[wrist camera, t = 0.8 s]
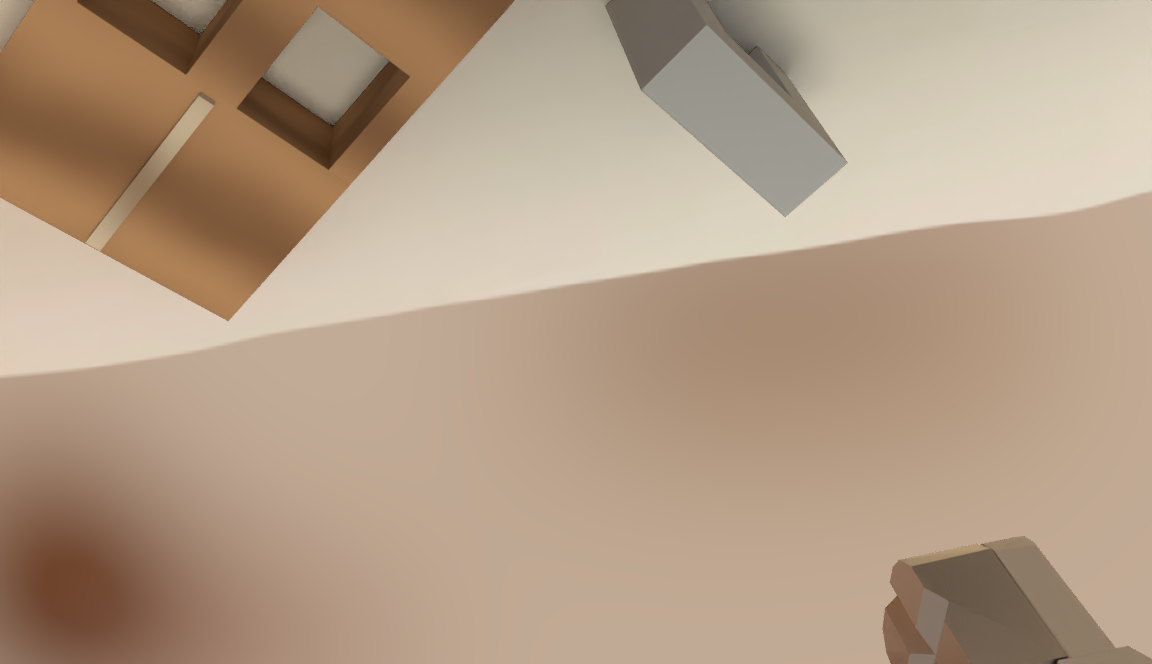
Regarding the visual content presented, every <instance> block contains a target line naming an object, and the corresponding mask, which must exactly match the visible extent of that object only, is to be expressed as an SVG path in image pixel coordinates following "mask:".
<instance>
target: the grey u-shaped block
mask: <svg viewBox="0 0 1152 664" xmlns="http://www.w3.org/2000/svg"><path fill="white" fill-rule="evenodd" d="M606 9H607V11H608V14H609V16H610V18H611V21H612V23H613V25H614V28H615V30H616V32H617V35H618V37H619V39H620V42H621V44H622V46H623V49H624V51H625V54H626V56H627V58H628V61H629V63H630V65H631V68H632V70H633V72H634V75H635V77H636V79H637V82H638V84H639V86H640V89H641V90H642V91H643V92H644V93H645V94H646V95H647V96H648V97H649V98H651V99H652V100H653V101H654V102H655V103H656V104H657V105H659V106H660V107H661V108H662V109H663V110H664V111H665V112H666V113H668V114H669V115H670V116H671V117H672V118H673V119H674V120H676V121H677V122H678V123H679V124H680V125H681V126H682V127H683V128H685V129H686V130H687V131H688V132H689V133H690V134H691V135H693V136H694V137H695V138H696V139H697V140H698V141H699V142H700V143H702V144H703V145H704V146H705V147H706V148H707V149H708V150H710V151H711V152H712V153H713V154H714V155H715V156H716V157H717V158H719V159H720V160H721V161H722V162H723V163H724V164H725V165H727V166H728V167H729V168H730V169H731V170H732V171H733V172H734V173H736V174H737V175H738V176H739V177H740V178H741V179H742V180H744V181H745V182H746V183H747V184H748V185H749V186H750V187H751V188H753V189H754V190H755V191H756V192H757V193H758V194H759V195H761V196H762V197H763V198H764V199H765V200H766V201H767V202H768V203H770V204H771V205H772V206H773V207H774V208H775V209H776V210H778V211H779V212H780V213H781V214H782V215H783V216H784V217H786V216H787V215H788V214H789V213H790V212H792V211H793V210H794V209H795V208H796V207H797V206H798V205H800V204H801V203H802V202H803V201H804V200H805V199H807V198H808V197H809V196H810V195H811V194H812V193H814V192H815V191H816V190H817V189H818V188H819V187H820V186H822V185H823V184H824V183H825V182H826V181H827V180H829V179H830V178H831V177H832V176H833V175H834V174H835V173H837V172H838V171H839V170H840V169H841V168H842V167H844V166H845V165H846V164H847V161H846V160H845V158H844V157H843V156H842V154H841V153H840V151H839V150H838V148H837V147H836V145H835V144H834V143H833V141H832V140H831V138H830V137H829V135H828V134H827V133H826V131H825V130H824V128H823V127H822V125H821V124H820V123H819V121H818V120H817V118H816V117H815V115H814V114H813V112H812V111H811V110H810V108H809V107H808V105H807V104H806V102H805V101H804V100H803V98H802V97H801V95H800V94H799V92H798V91H797V90H796V88H795V87H794V85H793V84H792V82H791V81H790V79H789V78H788V77H787V75H786V74H785V73H784V72H783V71H782V70H781V69H780V68H779V67H778V66H777V65H776V64H775V63H774V62H773V61H772V60H771V59H770V58H769V57H768V56H767V55H766V54H765V53H764V52H763V51H762V50H761V49H760V48H759V47H758V46H757V47H756V48H755V49H754V50H753V51H752V52H751V53H750V54H749V55H748V54H747V53H746V52H745V51H744V50H743V49H742V48H741V47H740V46H739V45H738V44H737V43H736V42H735V41H734V40H733V39H732V38H731V37H730V36H729V35H728V34H727V33H726V32H725V30H724V29H723V27H722V25H721V24H720V22H719V21H718V19H717V18H716V16H715V15H714V13H713V11H712V10H711V8H710V7H709V5H708V4H707V2H706V0H611V1H610V2H609V3H608V4H607V6H606Z"/></svg>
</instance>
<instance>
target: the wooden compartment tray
mask: <svg viewBox="0 0 1152 664" xmlns="http://www.w3.org/2000/svg"><path fill="white" fill-rule="evenodd" d="M514 1H515V0H227V1H226V2H225V4H224V5H223V6H222V8H221V9H220V10H219V12H218V13H217V14H216V16H215V17H214V18H213V20H212V21H211V22H210V24H209V25H208V26H207V28H206V29H205V30H204V32H203V33H202V34H201V35H199V34H198V33H196V32H195V31H193V30H192V29H190V28H189V27H188V26H186V25H185V24H183V23H182V22H180V21H179V20H177V19H176V18H175V17H173V16H172V15H170V14H169V13H167V12H166V11H165V10H163V9H162V8H160V7H159V6H157V5H156V4H154V3H153V2H152V1H150V0H35V1H34V3H33V4H32V6H31V7H30V9H29V11H28V12H27V14H26V15H25V17H24V18H23V20H22V21H21V23H20V24H19V26H18V27H17V29H16V30H15V32H14V33H13V35H12V37H11V38H10V40H9V41H8V43H7V44H6V46H5V47H4V49H3V50H2V52H1V53H0V198H2V199H4V200H6V201H8V202H9V203H11V204H13V205H15V206H17V207H19V208H21V209H22V210H24V211H26V212H28V213H30V214H32V215H33V216H35V217H37V218H39V219H41V220H43V221H45V222H46V223H48V224H50V225H52V226H54V227H56V228H57V229H59V230H61V231H63V232H65V233H67V234H68V235H70V236H72V237H74V238H76V239H78V240H80V241H81V242H83V243H85V244H87V245H89V246H91V247H92V248H94V249H96V250H98V251H100V252H102V253H104V254H105V255H107V256H109V257H111V258H113V259H115V260H116V261H118V262H120V263H122V264H124V265H126V266H127V267H129V268H131V269H133V270H135V271H137V272H139V273H140V274H142V275H144V276H146V277H148V278H150V279H151V280H153V281H155V282H157V283H159V284H161V285H163V286H164V287H166V288H168V289H170V290H172V291H174V292H175V293H177V294H179V295H181V296H183V297H185V298H187V299H188V300H190V301H192V302H194V303H196V304H198V305H199V306H201V307H203V308H205V309H207V310H209V311H210V312H212V313H214V314H216V315H218V316H220V317H222V318H223V319H225V320H227V321H229V320H230V319H231V318H232V316H233V315H234V314H235V313H236V312H237V311H238V310H239V309H240V307H241V306H242V305H243V304H244V303H245V302H246V301H247V300H248V298H249V297H250V296H251V295H252V294H253V293H254V292H255V291H256V290H257V288H258V287H259V286H260V285H261V284H262V283H263V282H264V281H265V279H266V278H267V277H268V276H269V275H270V274H271V273H272V272H273V271H274V269H275V268H276V267H277V266H278V265H279V264H280V263H281V262H282V260H283V259H284V258H285V257H286V256H287V255H288V254H289V253H290V251H291V250H292V249H293V248H294V247H295V246H296V245H297V244H298V243H299V241H300V240H301V239H302V238H303V237H304V236H305V235H306V234H307V232H308V231H309V230H310V229H311V228H312V227H313V226H314V225H315V223H316V222H317V221H318V220H319V219H320V218H321V217H322V216H323V215H324V213H325V212H326V211H327V210H328V209H329V208H330V207H331V206H332V204H333V203H334V202H335V201H336V200H337V199H338V198H339V197H340V196H341V194H342V193H343V192H344V191H345V190H346V189H347V188H348V187H349V185H350V184H351V183H352V182H353V181H354V180H355V179H356V178H357V176H358V175H359V174H360V173H361V172H362V171H363V170H364V169H365V168H366V166H367V165H368V164H369V163H370V162H371V161H372V160H373V159H374V157H375V156H376V155H377V154H378V153H379V152H380V151H381V150H382V148H383V147H384V146H385V145H386V144H387V143H388V142H389V141H390V140H391V138H392V137H393V136H394V135H395V134H396V133H397V132H398V131H399V129H400V128H401V127H402V126H403V125H404V124H405V123H406V122H407V121H408V119H409V118H410V117H411V116H412V115H413V114H414V113H415V112H416V110H417V109H418V108H419V107H420V106H421V105H422V104H423V103H424V101H425V100H426V99H427V98H428V97H429V96H430V95H431V94H432V93H433V91H434V90H435V89H436V88H437V87H438V86H439V85H440V84H441V82H442V81H443V80H444V79H445V78H446V77H447V76H448V75H449V73H450V72H451V71H452V70H453V69H454V68H455V67H456V66H457V65H458V63H459V62H460V61H461V60H462V59H463V58H464V57H465V56H466V54H467V53H468V52H469V51H470V50H471V49H472V48H473V47H474V46H475V44H476V43H477V42H478V41H479V40H480V39H481V38H482V37H483V35H484V34H485V33H486V32H487V31H488V30H489V29H490V28H491V26H492V25H493V24H494V23H495V22H496V21H497V20H498V19H499V18H500V16H501V15H502V14H503V13H504V12H505V11H506V10H507V9H508V7H509V6H510V5H511V4H512V3H513V2H514ZM317 7H319V8H321V9H322V10H323V11H325V12H326V13H327V14H328V15H330V16H331V17H332V18H334V19H335V20H336V21H338V22H339V23H340V24H342V25H343V26H344V27H346V28H347V29H348V30H350V31H351V32H352V33H353V34H355V35H356V36H357V37H359V38H360V39H361V40H363V41H364V42H365V43H367V44H368V45H369V46H371V47H372V48H373V49H374V50H376V51H377V52H378V53H380V54H381V55H382V56H384V57H385V58H386V59H388V60H389V63H388V64H387V65H386V66H385V67H384V68H383V70H382V71H381V72H380V73H379V74H378V75H377V77H376V78H375V79H374V80H373V81H372V82H371V84H370V85H369V86H368V87H367V88H366V89H365V91H364V92H363V93H362V94H361V95H360V96H359V98H358V99H357V100H356V101H355V102H354V103H353V105H352V106H351V107H350V108H349V109H348V110H347V112H346V113H345V114H344V115H343V116H342V117H341V119H340V120H339V121H338V122H337V123H336V124H335V126H334V127H332V126H330V125H329V124H327V123H326V122H324V121H323V120H321V119H320V118H319V117H317V116H316V115H314V114H313V113H311V112H310V111H309V110H307V109H306V108H304V107H303V106H301V105H300V104H298V103H297V102H296V101H294V100H293V99H291V98H290V97H288V96H287V95H285V94H284V93H283V92H281V91H280V90H278V89H277V88H275V87H274V86H273V85H271V84H270V83H268V82H267V81H265V80H264V79H262V78H261V77H262V76H263V74H264V73H265V72H266V71H267V69H268V68H269V67H270V66H271V64H272V63H273V62H274V61H275V59H276V58H277V57H278V56H279V54H280V53H281V52H282V51H283V49H284V48H285V47H286V46H287V44H288V43H289V42H290V40H291V39H292V38H293V37H294V35H295V34H296V33H297V32H298V30H299V29H300V28H301V27H302V25H303V24H304V23H305V22H306V20H307V19H308V18H309V17H310V15H311V14H312V13H313V12H314V10H315V9H316V8H317Z"/></svg>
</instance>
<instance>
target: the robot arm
mask: <svg viewBox="0 0 1152 664" xmlns="http://www.w3.org/2000/svg"><path fill="white" fill-rule="evenodd" d="M890 583H891V585H892V587H893V588H894V590H895V592H896V594H897V596H896V598H895V599H894V600H893V601H892V602H891V603H890V604H889V605H888V606H887V607H886V608H885V614H884V621H883V634H884V640H885V646H886V652H887V655H888V657H889V660H890V663H891V664H1152V659H1151V658H1149V657H1147V656H1145V655H1143V654H1142V653H1140V652H1138V651H1136V650H1134V649H1133V648H1131V647H1129V646H1126V647H1120V648H1115V647H1114V645H1113V644H1112V643H1111V641H1110V640H1109V639H1108V638H1107V636H1106V635H1105V634H1104V632H1103V631H1102V630H1101V629H1100V627H1099V626H1098V625H1097V623H1096V622H1095V621H1094V620H1093V618H1092V617H1091V616H1090V614H1089V613H1088V612H1087V610H1086V609H1085V608H1084V606H1083V605H1082V604H1081V603H1080V602H1079V600H1078V599H1077V598H1076V596H1075V595H1074V594H1073V592H1072V591H1071V590H1070V588H1069V587H1068V586H1067V585H1066V583H1065V582H1064V581H1063V579H1062V578H1061V577H1060V575H1059V574H1058V573H1057V572H1056V570H1055V569H1054V568H1053V566H1052V565H1051V564H1050V563H1049V561H1048V560H1047V559H1046V557H1045V556H1044V555H1043V553H1042V552H1041V551H1040V550H1039V548H1038V547H1037V546H1036V545H1035V543H1034V542H1033V541H1031V540H1030V539H1028V538H1026V537H1025V536H1021V537H1013V538H1009V539H1004V540H999V541H994V542H989V543H984V544H980V545H978V544H973V545H968V546H963V547H958V548H953V549H949V550H944V551H939V552H935V553H929V554H925V555H920V556H915V557H910V558H905V559H901V560H899V561H898V562H897V563H896V564H895V565H894V566H893V569H892V574H891V579H890Z"/></svg>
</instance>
